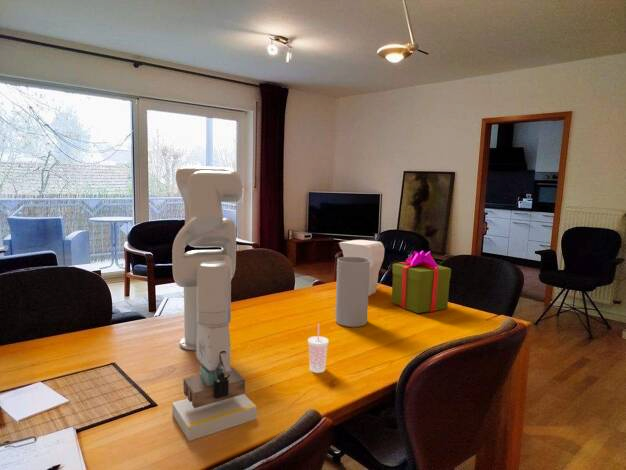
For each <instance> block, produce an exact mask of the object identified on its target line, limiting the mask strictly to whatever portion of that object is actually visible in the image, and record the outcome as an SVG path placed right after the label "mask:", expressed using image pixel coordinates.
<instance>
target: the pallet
mask: <svg viewBox="0 0 626 470" xmlns="http://www.w3.org/2000/svg"><path fill="white" fill-rule="evenodd" d="M230 368H231V372H230V376H229V381H228V395H227V396H225V397H221V398H218V399H215V398H214V385H211V386H207V385H206V383H205V382H204V381H203V380H202V379H201V378H200V374H197V375H193V376H189V377H185V378H182V379H183V394H184V396H185V397H187V398H188V400H189V401H190V402H192V406H193V407H194V408H197V407H201V406H204V405H208V404H211V403H215V402H218V401H222V400H225V399H228V398H232V397H235V396H239V395H242V394H245V395H246V379H245V377H244V376H242V375H241V374H240V373H239V371H237V370H236V369H235V368H234V367H233V366H230Z"/></svg>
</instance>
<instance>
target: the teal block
mask: <svg viewBox="0 0 626 470" xmlns="http://www.w3.org/2000/svg"><path fill="white" fill-rule="evenodd" d="M221 366H222V365H221V364H218V366H217V367H221ZM222 371H223V369H221V370H218V374H219V375H220V374H221V373H222ZM199 375H200V378H201V379H202V380H203V381H204V382H205V383H206V385H207V386H211V385H214V381H216V380H215V375H214V370H213V371H209V370H208V369H207V368H206V367H205V366H204V365H203V364H202V365H201V364H200V365H199ZM228 381H229V380H228Z"/></svg>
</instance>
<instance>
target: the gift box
mask: <svg viewBox="0 0 626 470" xmlns="http://www.w3.org/2000/svg"><path fill="white" fill-rule="evenodd" d="M431 253H432V252H431V251H428V252H425V251H424V249H423V250H421V251H420V252H418V251H416V250H414V251H413V252H412V253H411V254H410V256H408V258H406V260H405V262H404V261H402V262H401V261H399V262H397V263H392V271H391V272H392V284H391V285H392V289H391V303H393V304H395V305H398V306H400V307H401V308H402V309H405V310H409V311H411V312H414V313H416V314H420V313H426V312H429V313H431V312H433V313H434V312H435V311H439V310H445V309H448V306H449V291H450V280H451V277H452V268H450V267H447V266H443V265H439V264H438V263H436V261H435V259H434V258H433V256H432V255H431Z"/></svg>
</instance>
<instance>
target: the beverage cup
mask: <svg viewBox="0 0 626 470" xmlns="http://www.w3.org/2000/svg"><path fill="white" fill-rule="evenodd" d="M307 344H308V353H309V354H308V357H309V360H308V361H309V371H310V372H312V373H316V374H317V373H318V374H319V373H323V372H325V371H326V362H327V352H328V345H329V338H328V337H324V336H320V322H319V323H317V336H310V337H308V339H307Z"/></svg>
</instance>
